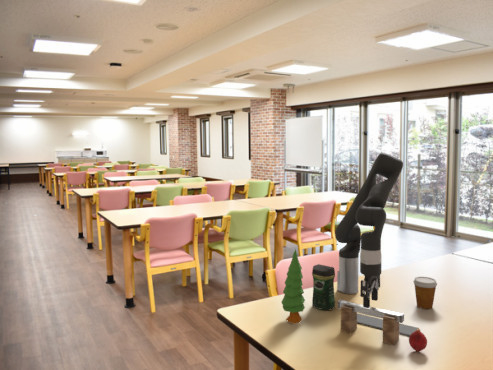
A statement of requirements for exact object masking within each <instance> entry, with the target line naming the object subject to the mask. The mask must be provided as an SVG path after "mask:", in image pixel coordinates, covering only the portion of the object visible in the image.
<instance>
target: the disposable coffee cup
mask: <svg viewBox="0 0 493 370" xmlns="http://www.w3.org/2000/svg"><path fill="white" fill-rule="evenodd" d="M413 285H414V291H415V300H416V307H418V308H419V309H423V310H431V309H433V307H434V306H433V305H434V301H435V295H436V288H437V285H438V283H437V280H436V279H435V278H432V277H429V276H416V277H415V278H414V279H413Z"/></svg>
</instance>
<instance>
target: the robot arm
mask: <svg viewBox="0 0 493 370" xmlns="http://www.w3.org/2000/svg"><path fill="white" fill-rule="evenodd" d="M403 167H404V162H403V161H402V160H401V159H399V157H398V158H397V157H395V156H393V155H391V154H389V153H387V152H380V153H379V154H378V155H377V157H376V158H375V160H374V162H373V164H372V165H371V168H370V170H369V173H368V175H367V176H366V178H365V180H364V182H363V183H362V185H361V186H360V187H361V188H360V189H359V191H358V193H357V194H356V195H355V198H354V200H353V201H352V203H351V205H350V207H349V209H347V212H346V213H345V215H344V216H343V217H342V219H341V220H340V222H339V223H338V224H337V226H336V228H335V232H334V233H335V234H334V236H335V240H336V241H337V242H338V243H341V244H345V245H344V246H343V247H342V248H340V249H339V250H338V271H337V273H336V276H337V277H336V279H337V280H336V281H337V282H336V284H337V285H336V290H337V292H340V293H343V294H348V295H352V294H354V295H355V294H357V293H358V292H360V294H359V296H360V298H363V299H362V305H363V307H365V308H369V307H371V302H370V301H371V300H372V301H375V302H376V301H378V299H379V293H378V292H379V289H380V288H381V274H382V248H381V247H382V234H383V230H384V227H385V224H386V220H387V212H386V210H385V209H384V208H385V207H386V204H387V201H388V198H389V196H390V193H391V191H392V190H393V189H394V186H395V184H396V183H397V181H398V180H399V179H398V178H399V177H400V175H401V173H402V170H403ZM377 175H379V176H381V177H383V178H385V180H382V181H380V182H378V183H377ZM359 225H360V226H363V227H365V226H366V227H374V229H373V230H372V231H364V232H362V233H361V231H362V230H361V228H360V226H359ZM359 254H360V255H359ZM359 272H360V273H361V274H362V275H363V276H364V278H363V280H360V291H359ZM370 297H371V298H370Z"/></svg>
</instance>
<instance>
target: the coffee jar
mask: <svg viewBox="0 0 493 370" xmlns="http://www.w3.org/2000/svg"><path fill="white" fill-rule="evenodd" d="M311 275H312V276H311V277H312V280H313V281H312V282H313V287H312V300H311V304H312V307H314V308H317V309H320V310H324V311H329V310H333V309H334V308H335V307H336V297H335V287H334V281H335V278H336V271H335V267H334V266H328V265H325V264H320V263H318V264H315V265H313V267H312V272H311Z"/></svg>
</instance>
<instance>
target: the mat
mask: <svg viewBox="0 0 493 370" xmlns="http://www.w3.org/2000/svg"><path fill="white" fill-rule="evenodd" d="M358 324H359V325H363V326H366V327H370V328H374V329H379V330H382V331H383V318H378V317H374V316H370V315H366V314H361V313H357V325H358ZM417 329H420V327H416V326H412V325H408V324H403V323H400V322H399V335H401V336H406V337H410V335H411V334H412V333H413V332H415V331H416V330H417Z"/></svg>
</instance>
